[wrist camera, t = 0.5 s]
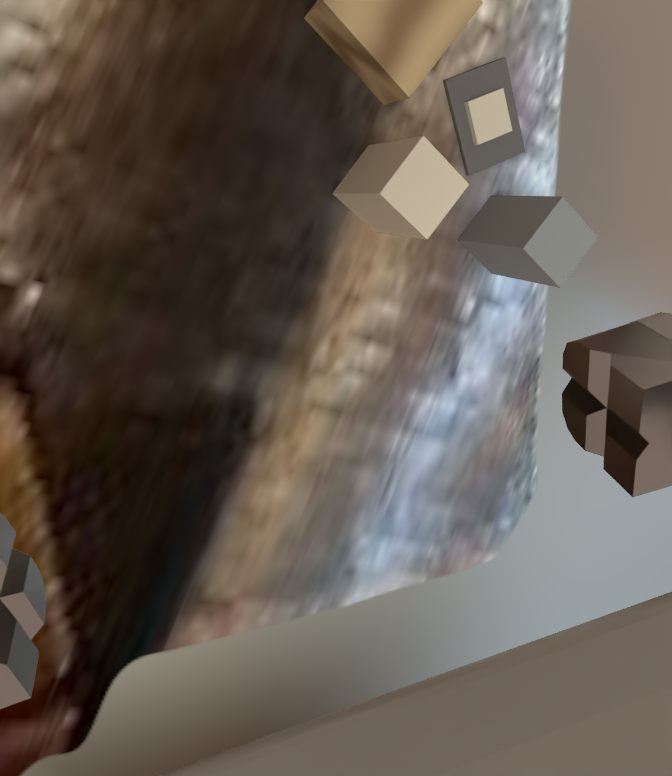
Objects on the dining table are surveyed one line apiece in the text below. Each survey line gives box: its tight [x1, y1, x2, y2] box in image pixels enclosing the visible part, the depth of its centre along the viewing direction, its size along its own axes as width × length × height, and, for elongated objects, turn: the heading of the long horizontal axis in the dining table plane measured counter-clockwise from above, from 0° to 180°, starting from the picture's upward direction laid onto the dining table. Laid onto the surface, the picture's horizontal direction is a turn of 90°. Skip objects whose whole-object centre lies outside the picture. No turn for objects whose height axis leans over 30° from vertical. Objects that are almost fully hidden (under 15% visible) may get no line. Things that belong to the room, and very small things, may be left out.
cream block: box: [332, 136, 469, 240], centre depth 50 cm, size 5×5×10 cm
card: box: [443, 58, 525, 175], centre depth 55 cm, size 8×6×1 cm
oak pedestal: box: [304, 0, 482, 105], centre depth 48 cm, size 9×9×5 cm
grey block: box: [458, 196, 598, 288], centre depth 55 cm, size 5×5×10 cm
